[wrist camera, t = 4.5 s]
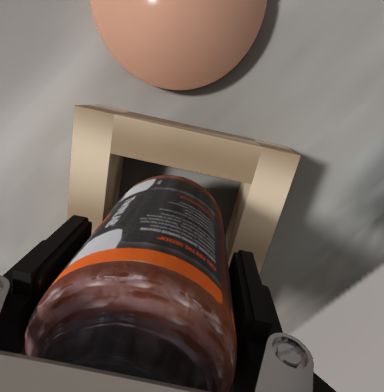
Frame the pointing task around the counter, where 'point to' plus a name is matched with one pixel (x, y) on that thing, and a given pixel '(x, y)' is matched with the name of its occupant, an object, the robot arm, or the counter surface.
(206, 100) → the counter surface
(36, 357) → the robot arm
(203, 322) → the supplement bottle
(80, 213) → the pocket holder
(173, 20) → the coaster
